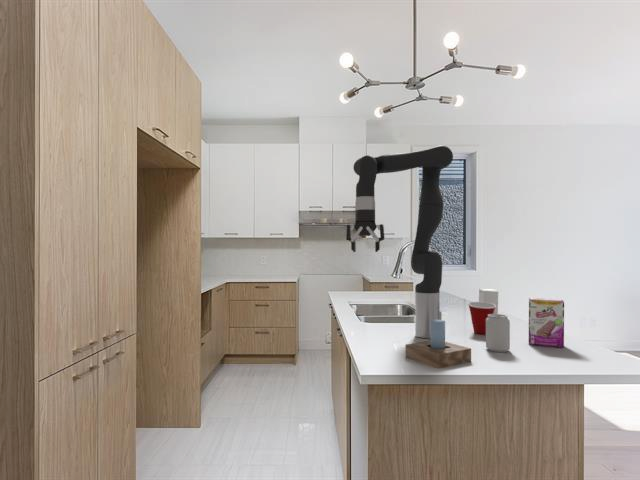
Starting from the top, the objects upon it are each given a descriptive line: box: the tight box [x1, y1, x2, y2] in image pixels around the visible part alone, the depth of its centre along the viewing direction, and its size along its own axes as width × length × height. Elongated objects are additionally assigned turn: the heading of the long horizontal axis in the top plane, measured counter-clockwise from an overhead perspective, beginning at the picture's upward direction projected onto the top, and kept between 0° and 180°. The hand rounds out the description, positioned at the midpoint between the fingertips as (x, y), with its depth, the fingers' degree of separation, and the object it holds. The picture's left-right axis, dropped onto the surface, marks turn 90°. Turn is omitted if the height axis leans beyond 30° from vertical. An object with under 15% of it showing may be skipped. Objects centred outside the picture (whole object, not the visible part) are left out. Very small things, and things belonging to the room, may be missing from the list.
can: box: [485, 313, 511, 353], centre depth 144 cm, size 8×8×12 cm
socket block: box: [405, 340, 472, 369], centre depth 133 cm, size 14×14×4 cm
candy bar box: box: [528, 297, 565, 349], centre depth 151 cm, size 11×5×16 cm, turn 65°
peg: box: [430, 319, 446, 350], centre depth 133 cm, size 4×4×12 cm
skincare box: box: [478, 288, 499, 314], centre depth 191 cm, size 8×7×16 cm
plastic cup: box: [467, 301, 496, 336], centre depth 171 cm, size 11×11×12 cm
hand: (365, 251), depth 161 cm, fingers open, 8 cm apart
